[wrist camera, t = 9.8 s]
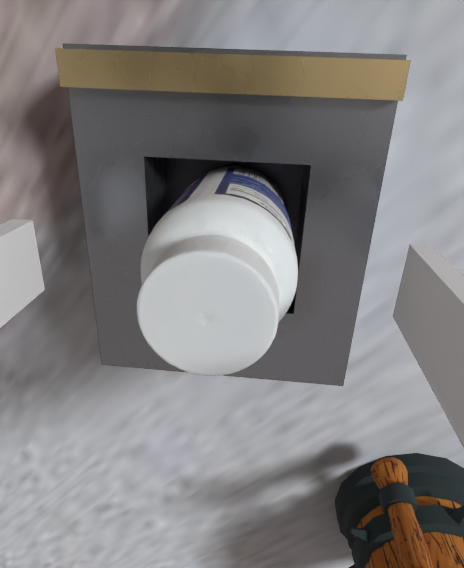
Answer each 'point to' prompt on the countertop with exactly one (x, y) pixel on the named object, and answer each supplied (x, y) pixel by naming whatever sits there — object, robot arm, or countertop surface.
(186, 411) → the countertop surface
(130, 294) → the jig
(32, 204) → the countertop surface
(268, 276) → the pill bottle
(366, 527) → the mug
